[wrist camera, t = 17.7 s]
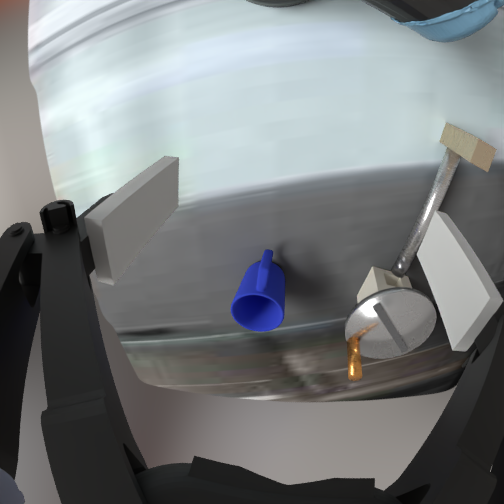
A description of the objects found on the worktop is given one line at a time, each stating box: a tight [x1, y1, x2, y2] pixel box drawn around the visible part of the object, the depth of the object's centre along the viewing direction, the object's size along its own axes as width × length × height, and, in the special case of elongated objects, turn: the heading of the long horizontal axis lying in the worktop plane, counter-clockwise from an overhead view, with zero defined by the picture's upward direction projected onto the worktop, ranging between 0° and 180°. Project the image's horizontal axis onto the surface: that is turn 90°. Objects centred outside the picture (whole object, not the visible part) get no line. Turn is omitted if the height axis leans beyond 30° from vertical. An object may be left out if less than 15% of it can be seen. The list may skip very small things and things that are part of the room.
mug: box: [231, 249, 285, 331], centre depth 48 cm, size 8×12×10 cm
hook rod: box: [391, 123, 497, 278], centre depth 36 cm, size 25×3×10 cm, turn 169°
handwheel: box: [345, 287, 436, 381], centre depth 40 cm, size 15×15×8 cm
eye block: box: [357, 266, 412, 303], centre depth 47 cm, size 7×7×9 cm
